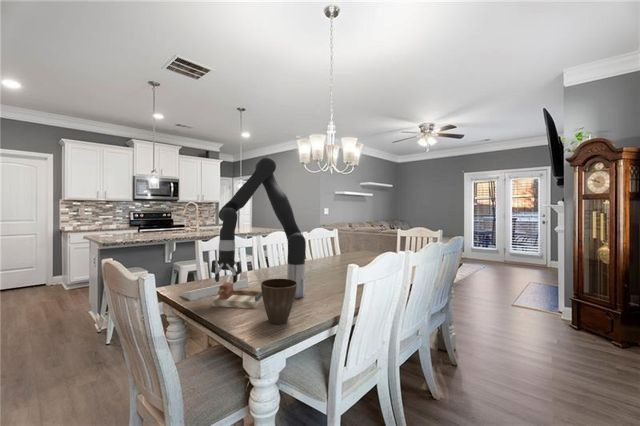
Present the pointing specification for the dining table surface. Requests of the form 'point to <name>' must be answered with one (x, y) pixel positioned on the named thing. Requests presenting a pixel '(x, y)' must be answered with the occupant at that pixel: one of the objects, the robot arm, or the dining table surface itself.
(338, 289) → the dining table surface
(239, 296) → the board
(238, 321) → the dining table surface
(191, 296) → the decorative molding
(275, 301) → the plant pot
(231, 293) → the reddish-brown block with stick
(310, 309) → the dining table surface
